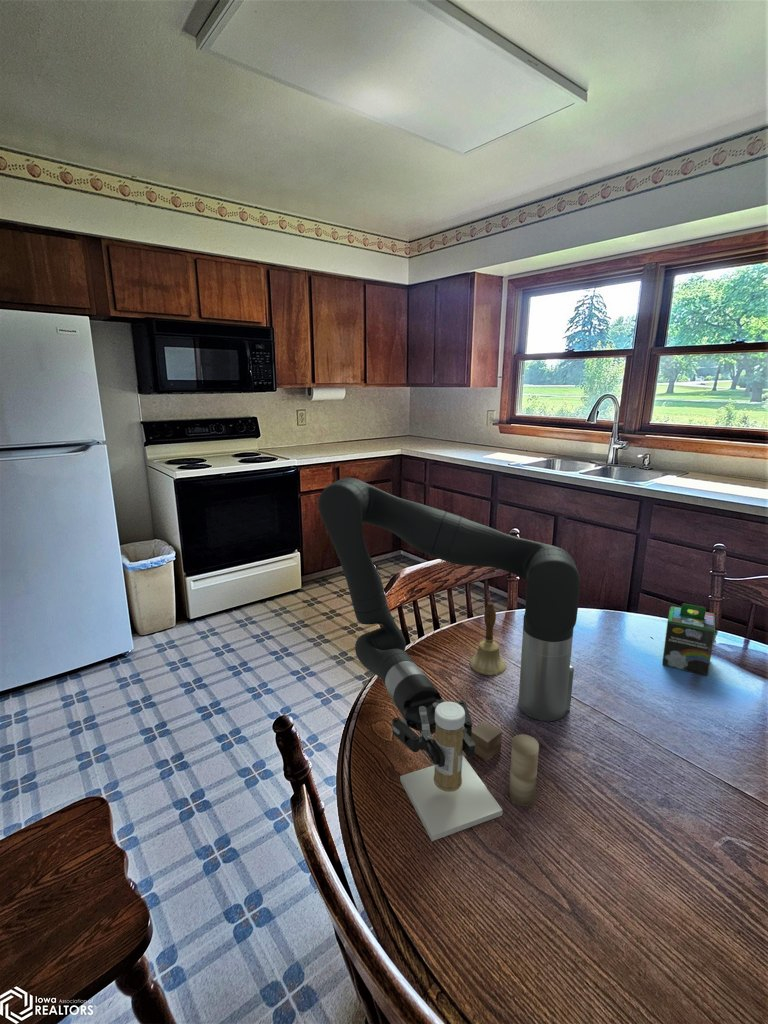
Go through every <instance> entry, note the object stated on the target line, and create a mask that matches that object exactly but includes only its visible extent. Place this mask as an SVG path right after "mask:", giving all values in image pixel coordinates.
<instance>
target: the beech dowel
mask: <svg viewBox="0 0 768 1024" xmlns="http://www.w3.org/2000/svg"><path fill="white" fill-rule="evenodd" d="M539 748H540V744H539V742H538V740H537V739H535V738H534V737H533V736H531V735H529V734H521V733H520V734H517V735H515V736H514V737H513V738H512V740H511V752H510V771H509V790H508V794H509V795H508V797H509V798H510V800H511V801H512V802H513V803H514V804H516V805H518V806H521V807H528V806H531V805H532V804H534V802H535V800H536V788H537V787H536V786H537V776H538V761H539V750H540V749H539Z"/></svg>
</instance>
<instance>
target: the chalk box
mask: <svg viewBox="0 0 768 1024" xmlns="http://www.w3.org/2000/svg"><path fill="white" fill-rule="evenodd" d="M668 610H669V611H668V616H667V622H666V624H667V625H666V630H665V637H664V638H665V640H664V646H663V647H664V648H663V655H662V666H666V667H670V668H674V669H677V670H683V671H686V672H690V673H694V674H696V675H702V676H705V677H707V676H708V675H709V670H710V663H711V657H712V651H713V645H714V638H715V633H716V623H715V621H716V616H715V613H714V612H708V611H707V608H706V607H705V606H701V605H695V604H690V603H682V604H681V605H680V607H678V606H670V607H669V609H668Z"/></svg>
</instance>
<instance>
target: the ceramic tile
mask: <svg viewBox="0 0 768 1024" xmlns="http://www.w3.org/2000/svg"><path fill="white" fill-rule="evenodd" d="M434 774H435V765H431V766H428V767H425V768H424V767H423V768H422V769H418V770H415V771H412V772H409V773H406V774H405V773H404V774H402V775H400V777H399V780H400V783H401V785H402V787H403V788H404V791H405V793H406V795H407V796H408V798H409V800H410V802H411V804H412V806H413V808H414V810H415V812H416V813H417V816H418V818H419V819H420V821H421V823H422V825H423V827H424V829H425V831H426V833H427V834H428V836H429V839H430V841H431V842H434V841H436V840H439V839H442V838H444V837H447V836H450V835H453V834H456V833H459V832H461V831H463V830H466V829H469V828H473V827H474V826H477V825H479V824H482V823H486V822H488V821H490V820H493V819H497V818H499V817H501V816H503V813H504V812H503V809H502V807H501V806H500V805H499V803H498V801H497V800H496V799H495V797H494V796H493V794H492V793H491V792H490V791H489V789H488V788H487V786H486V785H485V784H484V782H483V781H482V780H481V778H480V777H479V775H478V774H477V773H476V771H475V770H474V769H473V767H472V766H471V764H470V763H469V762H468V760H467V758H466V757H465V756H464V755H463V756H462V773H461V777H462V784H461V786H460V787H459V789H458V790H456V791H452V792H446V791H443V790H441V789H439V788H438V787H437V786H436V785H435V783H434Z"/></svg>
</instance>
